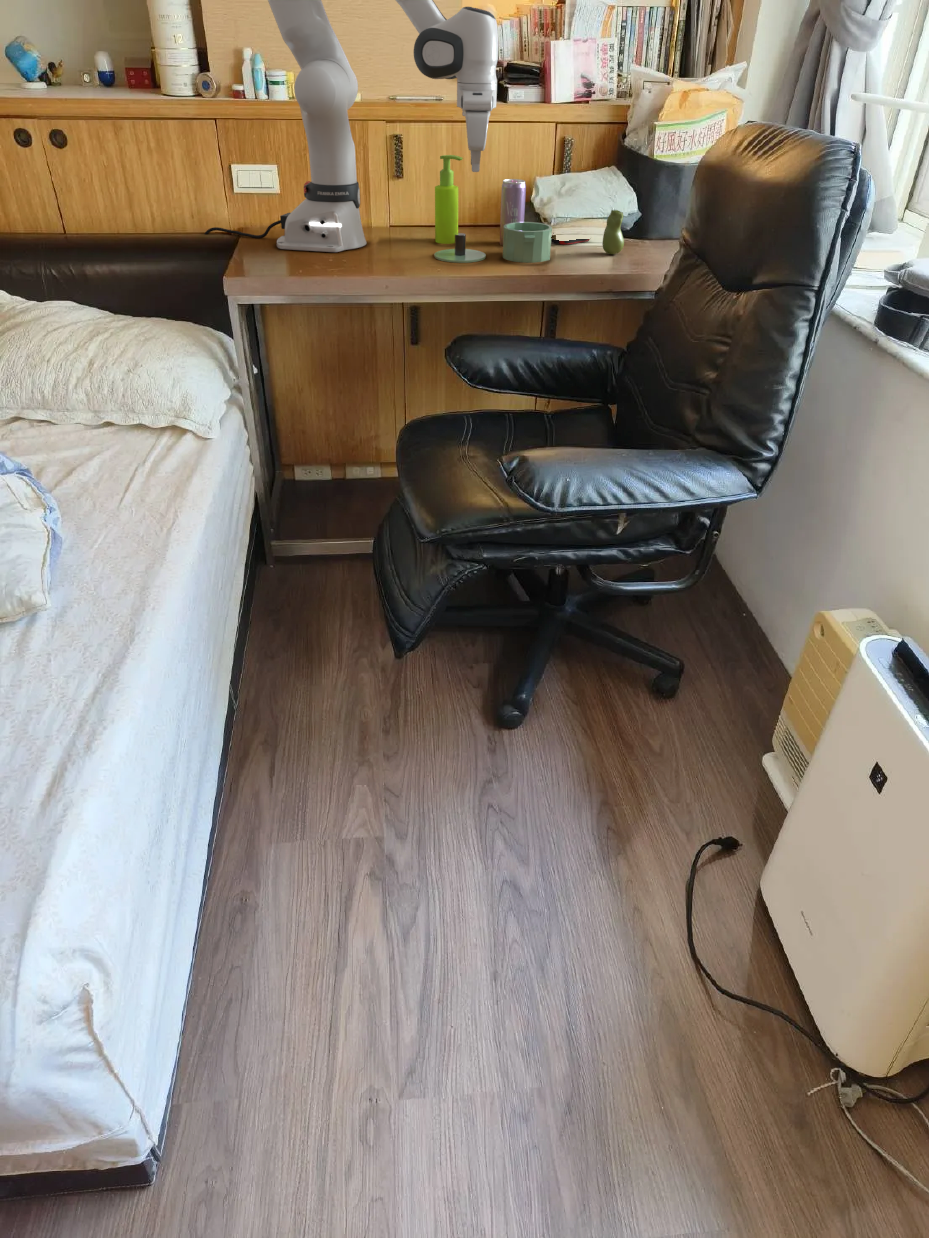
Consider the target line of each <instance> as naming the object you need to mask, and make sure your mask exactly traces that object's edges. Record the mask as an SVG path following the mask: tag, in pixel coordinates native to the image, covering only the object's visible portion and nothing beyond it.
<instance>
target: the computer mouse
mask: <svg viewBox="0 0 929 1238" xmlns="http://www.w3.org/2000/svg"><path fill="white" fill-rule="evenodd" d="M590 240H591V238H590V239H576V240H569V241H559V240H554V239H552V238H551V244H555V245H559V246H570V245H577V244H579V243H581V244H582V243H588V242H589V241H590Z"/></svg>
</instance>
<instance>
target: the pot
mask: <svg viewBox="0 0 929 1238" xmlns="http://www.w3.org/2000/svg"><path fill="white" fill-rule="evenodd" d="M552 235H553V227H552V225H549V224H546V223H542V222H533V221H524V222H513V223H508V224H505V225H504V228H503V245H502V254H501V255H502V258H503V259H504V260H507V261H509V262H515V263H525V264H527V263H528V264H529V263H530V264H531V263H542V262H547V261H550V260H551V250H552V249H551V248H552V242H551V237H552Z"/></svg>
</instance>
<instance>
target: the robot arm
mask: <svg viewBox="0 0 929 1238" xmlns="http://www.w3.org/2000/svg"><path fill="white" fill-rule="evenodd" d="M267 2H268V5H269V6H270V9H271V12H272V15H273V17H274V21H275V23H276V26H277V28H278V30H279V32H280V33H279V34H280V35H281V38H282V40H283V42H284V43H285V45H286V46H287V47H288V49H289V51H290V52H291V54H292V55H293V58H294V59H295V61H296V62H297V65H298V66H299V68H300V71H299V72H298V74H297V76H296V78H295V81H294V95H295V99H296V102H297V104H298V105H299V109H300V115H301V119H302V124H303V125H302V126H303V128H304V132H305V137H306V142H307V147H308V148H307V149H308V159H309V169H310V178H311V179H310V180H307V181H305V183H304V184H303V196H304V198H305V199H304V200H302V201H301V202H300V204H298V205H297V206H296V207H295V208H294V209H293V210H292V211H291V212H287V213H284V214H282V215H281V214H280V216H279V218H280V219H279V220H276V221H274V222H272V223H270V224H269V225H268V226H267V227H266V230H265V231H264V232H263V233H262V234H257V235H256V234H252V233H247V232H243V231H238V230H233V229H232V230H231V229H227V228H224V227H211V228H209V229H206V231H205V232H204V235H209V234H210V233H211V232H214V231H220V232H224V233H229V234H232V235H233V234H234V235H237V236H242V237H247V238H251V239H263V238H265V237H266V236H268V234H269V232H270V231H271V229H272V228H274V227H275V226H278V225H280V227H281V230H284V235H281V236H280V237H278V238H277V239H276V247H277V248H278V249H280V250H293V251H307V252H309V251H310V252H324V253H325V252H326V253H338V252H339V253H340V252H343V251H346V250H348V251H349V250H355V249H358V248H362V247H365V246H366V245H367V243H368V242H367V239H366V236H365V233H364V229H363V224H362V219H361V218H362V217H361V212H360V211H361V210H360V207H361V192H360V191H361V190H360V185H359V183H360V182H358V178H357V177H358V176H357V161H356V160H357V159H356V145H355V142H354V139H353V135H352V130H351V126H350V125H351V124H350V121H349V120H350V119H349V113H348V110H349V109H351V108H352V107H353V106H354V103H355V101H356V99H357V96H358V92H359V83H358V78H357V76H356V74H355V72H354V70H353V69H352V67H351V64H350V62H349V60H348V58H347V56H346V53H345V51H344V49H343V47H342V45H341V43H340V41H339V38H338V36H337V35H336V33H335V30H334V29H333V26H332V24H331V22H330V20H329V18H328V15H327V12H326V9H325V6H324V3H323V1H322V0H267ZM395 2H396V3H397V4H398V5H399V6H400V8H401V10H402V11H403V13H405V15H406V17H407V18H408V19H409V21H410V22H411V24H412V25H413V27H414V28H415V30H416V32H417V33H418V35H417V37H416V39H415V41H414V44H413V60H414V63H415V65H416V67H417V69H418V70H419V72H420V73H421V74H422V75H424V76H425V77H427V78H428V79H432V80H455V79H456V107H457V108H460V109H461V111H462V112H461V115H462V116H463V117H465V125H466V127H465V128H466V138H467V149H468V151H470V165H471V172H472V173H479V172H480V170H481V169H480V167H481V157H482V152H484V151H485V148H486V144H487V137H488V128H489V121H490V117H491V112H492V111H493V109H496V108H497V96H498V95H497V94H498V78H497V70H496V69H497V64H498V61H499V30H498V23H497V18H496V17H495V16H494V15H493V13H492V12H490V11H488V10H486V9H482V8H478V7H472V6H464V7H461V8H460V10H459V11H458V12H457V13H455V14H454V15H453V16H451V17H449V18H446V17H445V16H444V15H443V13H442V12H441V10H440V8H439V7H438V6H437V4H436V3H435V1H434V0H395Z"/></svg>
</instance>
